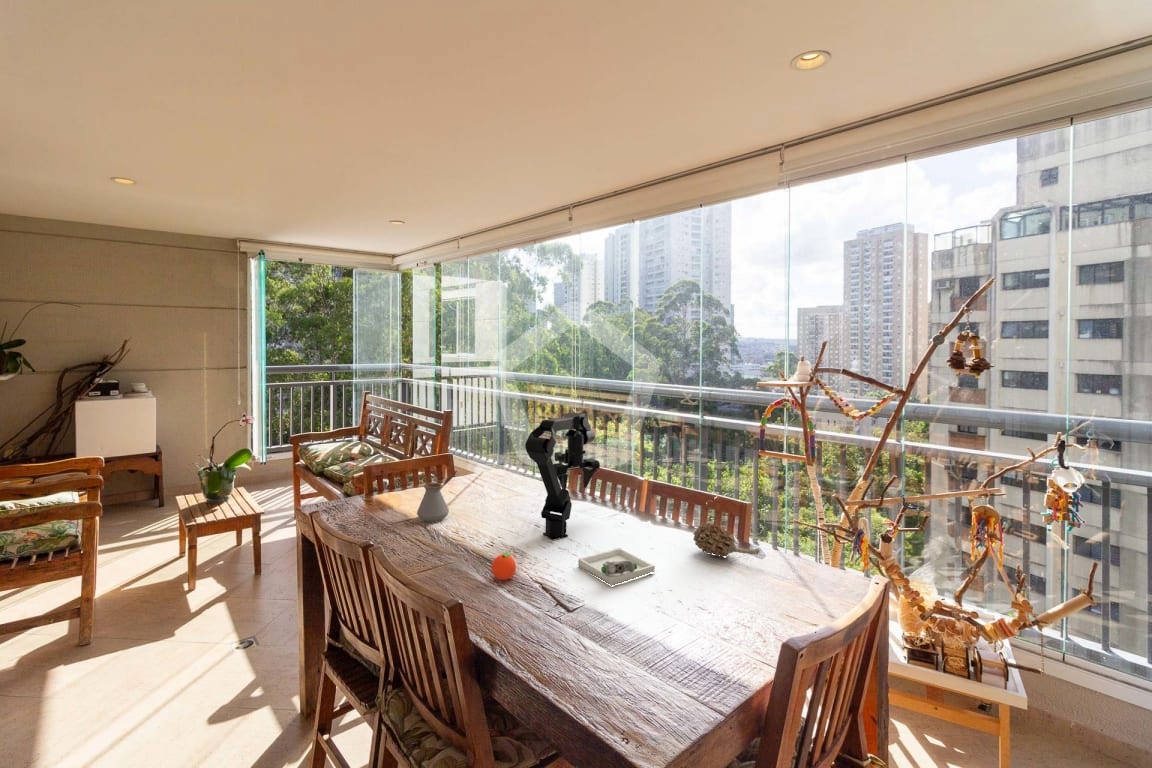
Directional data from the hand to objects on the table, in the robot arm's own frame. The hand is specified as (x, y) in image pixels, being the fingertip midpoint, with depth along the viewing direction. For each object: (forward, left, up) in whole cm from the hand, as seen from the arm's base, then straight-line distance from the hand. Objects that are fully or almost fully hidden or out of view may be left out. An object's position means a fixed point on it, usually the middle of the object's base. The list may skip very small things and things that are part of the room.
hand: (574, 489), depth 204 cm
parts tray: (-12, -39, -13) cm, 43 cm away
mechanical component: (-14, -37, -11) cm, 41 cm away
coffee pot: (-37, +35, -13) cm, 53 cm away
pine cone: (+23, -51, -13) cm, 58 cm away
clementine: (-42, -26, -13) cm, 51 cm away
